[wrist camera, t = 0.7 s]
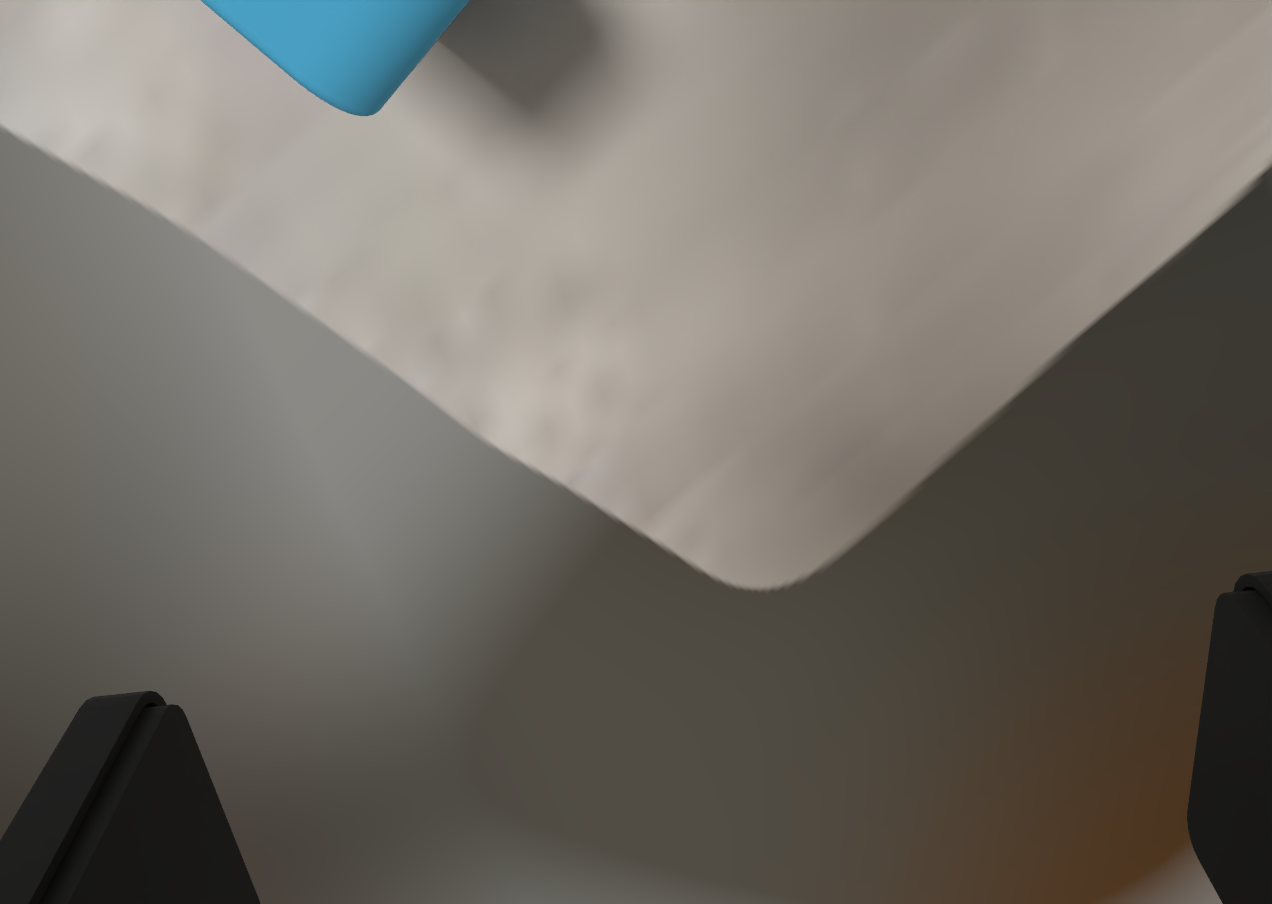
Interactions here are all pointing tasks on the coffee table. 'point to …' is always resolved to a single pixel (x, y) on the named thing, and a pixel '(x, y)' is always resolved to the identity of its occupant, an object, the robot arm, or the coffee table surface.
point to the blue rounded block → (343, 42)
